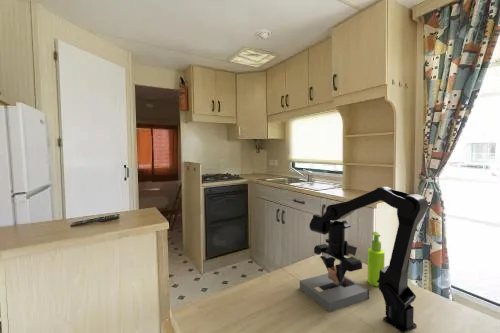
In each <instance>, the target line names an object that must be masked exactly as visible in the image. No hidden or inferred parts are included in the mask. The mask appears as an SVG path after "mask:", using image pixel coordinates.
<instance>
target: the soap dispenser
mask: <svg viewBox="0 0 500 333" xmlns="http://www.w3.org/2000/svg"><path fill="white" fill-rule="evenodd" d="M370 234H372V235H373V240H371V247H369V248H368V249H367V283H368V284H369V285H371V286H373V287H378V288H379V283H377V281H378V280H379V273H380V270H382V269H383V268H385V254H386V253H385V250H383V249H382V242H381V241H380V240H379V239H380V237H381V234H380V233H379V232H377V231H370Z"/></svg>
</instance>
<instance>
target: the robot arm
mask: <svg viewBox="0 0 500 333" xmlns="http://www.w3.org/2000/svg"><path fill="white" fill-rule="evenodd" d="M381 201H382V202H384V203H385V204H386V205H388V206H390V207H392V208H393V209H396V215H397V221H398V226H397V231H396V235H395V239H394V243H393V248H392V252H391V256H390V260H389V265H386V266H384V268H383V269H382V270H380V273H379V280H378V281H377V283H379V287H378V289H379V291H380V293H381V295H382V297H383V300H384V303H385V316H384V317H383V318H382V319H383V321H384V322H386V323H388V324H389V325H391V326H392V327H394V328H395V329H396V330H398V331H400V332H401V333H406V332H408V331H410V330H412V329H414V328H416V327H417V326H418V325H417V323H415V322H414V312H415V311H414V309H415V308H414V306H412V303H413V302H414V301H415V300H416V298H417V296H416V294H415V293H414V292H413V290H412V289H411V287H409V285H408V284H409V283H408V280H409V279H408V278H409V277H408V274H407V268H408V267H407V266H408V263H409V259H410V256H411V250H412V248H413V243H414V239H415V235H416V230H417V228H418V226H419V224H420V222H421V220H423V218H424V216H425V214H426V212H427V210H428V208H429V202H428V200H427V199H426V198H425V196H423V195H421V194H418V193H417V194H416V193H414V194H412V193H411V194H410V193H408V192H405V191H401V190H397V189H393V188H391V187H390V186H380V187H376V188H375V189H373V190H371V191H370V192H367V193H364V194H362V195H360V196H357V197H355V198H352V199H349V200H347V201H343V202H339V203H333V204H329V205H328V206H326V208H325V211H324V213H323V215H320V214H313V215H312V218H311V220H310V222H309V225H308V226H309V229H310V230H309V231H311V232H314V233H318V234H321V235H327V234H328V236H327V237H328V238H327V239H325V243H322V244H317V245H315V246H314V248H313V249H314V250H313V252H314V254H316V255H318V256H319V255H321V256H320V259H321V260H322V262H323V264H324V266H325V268H326V269H327V271H328V267H332V266H336V271H337V276H338V280H339V282H342V280H343V278H344V276H345V275H346V273H347V272H354V271H359V270H362V269H363V262H362V261H361V260H360V259H358V258H356V257H354V256H356V254H357V250H358V247H357V246H354V245H351V244H350V243H349V242H348V240H345V237H346V236H345V234H346V233H345V232H346V230H345V229H348V228H351V224H349V223H348V221H347V220H346V219H345V218H347V217H348V216H350V215H351V214H353V213H354V212H355V211H357V210H360V209H363V208H365V207H367V206H370V205H373V204H375V203H379V202H381ZM341 219H342V220H343V219H345V220H343V221H340V220H341ZM326 243H327V244H326ZM349 255H352V256H351V257H349ZM345 256H346V257H345ZM347 256H348V257H347ZM336 261H339V264H335V262H336Z"/></svg>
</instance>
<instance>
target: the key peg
mask: <svg viewBox="0 0 500 333" xmlns="http://www.w3.org/2000/svg"><path fill="white" fill-rule="evenodd" d="M327 273H328V278H329V279H331V280H332V281H333V285H331V286H330V289H331V288H335V287H338V286H339V280H338V276H337V271H336V266H335V265H334V266H332V267H328V270H327ZM342 281H344V278H343V280H342Z"/></svg>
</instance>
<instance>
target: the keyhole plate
mask: <svg viewBox="0 0 500 333" xmlns="http://www.w3.org/2000/svg"><path fill="white" fill-rule="evenodd" d="M331 285H333V281H332V280H331V279H329V278H328V272H327V273H324V274H320V275H317V276H312V277H309V278H305V279H301V280H299V289H300V290H301V291H303V293H305V294H306V295H307V296H308V297H310V298H311V299H313V301H314V302H316V303H317V304H319V306H321V307H322V308H323V309H324V310H326V311H327V312H328V313H331V312H334V311H336V310H340V309H342V308H345V307H349V306H351V305H354V304H357V303H360V302H362V301H365V300H368V299H370V289H368V288H366V287H365V286H364V285H362V284H359V283H358V282H357V281H354V280H352V279H351V278H349V277H348V276H345V275H344V281H342V282H339V286H338V287H335V288H331V289H330V286H331ZM344 286H345V287H344Z"/></svg>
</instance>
